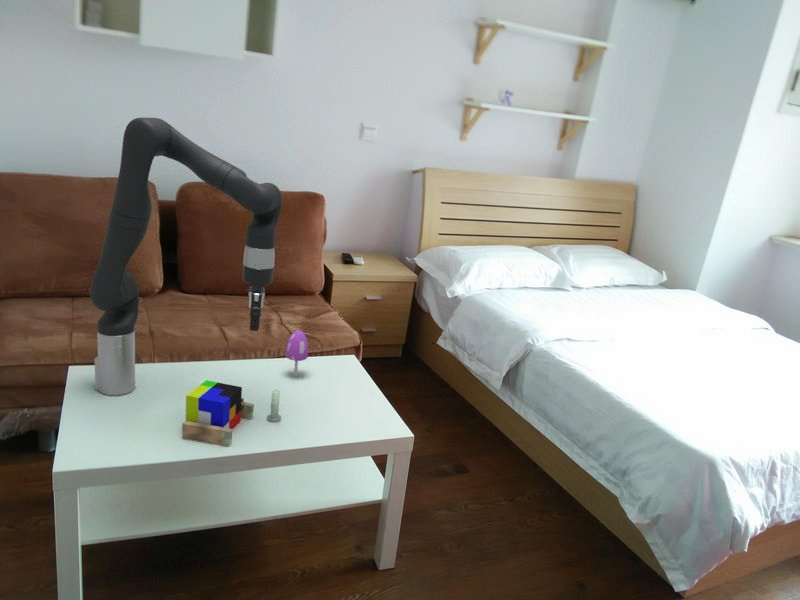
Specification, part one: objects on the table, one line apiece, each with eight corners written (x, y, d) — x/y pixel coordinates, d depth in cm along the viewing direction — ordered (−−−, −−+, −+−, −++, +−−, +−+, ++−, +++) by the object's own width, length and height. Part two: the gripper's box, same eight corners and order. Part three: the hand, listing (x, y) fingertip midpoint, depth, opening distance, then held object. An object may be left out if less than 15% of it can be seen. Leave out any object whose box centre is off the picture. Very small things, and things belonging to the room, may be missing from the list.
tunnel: (182, 438, 152) (182, 423, 151) (219, 401, 173) (219, 387, 172) (229, 446, 151) (229, 431, 150) (260, 408, 172) (261, 394, 171)
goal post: (265, 420, 165) (266, 393, 163) (269, 415, 169) (271, 388, 166) (278, 423, 165) (280, 395, 162) (282, 417, 168) (284, 390, 166)
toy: (285, 371, 197) (288, 326, 193) (306, 372, 198) (309, 328, 194) (283, 379, 191) (286, 334, 187) (305, 381, 192) (309, 335, 188)
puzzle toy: (222, 439, 154) (223, 403, 151) (185, 431, 155) (186, 395, 153) (240, 422, 163) (241, 387, 161) (205, 414, 165) (206, 380, 162)
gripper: (244, 255, 161) (240, 314, 166) (242, 269, 148) (238, 333, 153) (273, 258, 163) (269, 316, 168) (274, 272, 150) (269, 335, 155)
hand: (254, 324), depth 160 cm, fingers open, 8 cm apart
